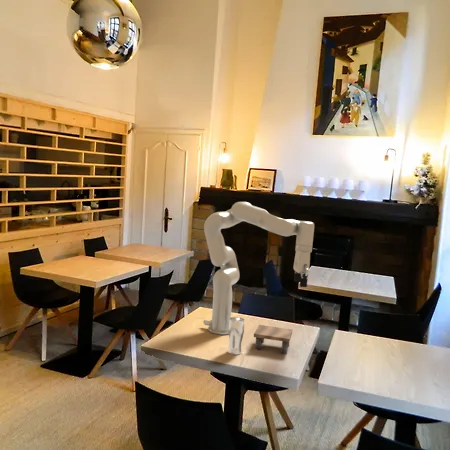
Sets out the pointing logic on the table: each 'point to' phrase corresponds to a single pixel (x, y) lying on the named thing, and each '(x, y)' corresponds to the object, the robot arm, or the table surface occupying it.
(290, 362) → the table surface
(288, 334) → the peg shelf
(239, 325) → the beer glass
